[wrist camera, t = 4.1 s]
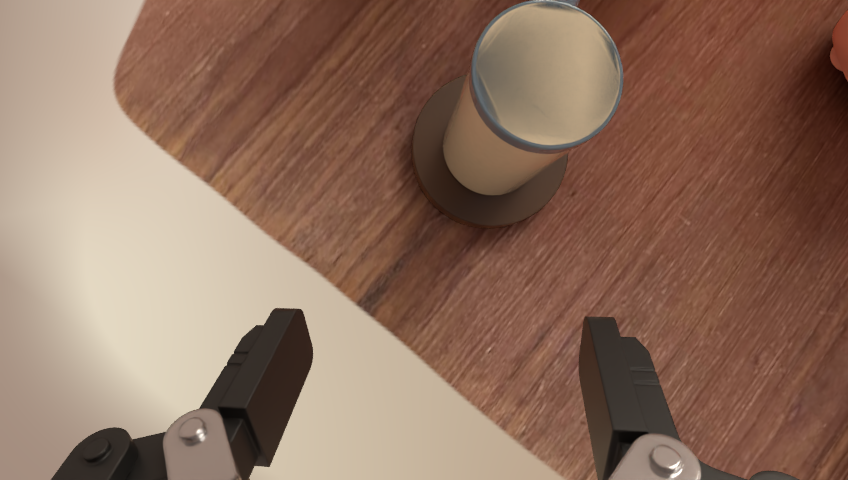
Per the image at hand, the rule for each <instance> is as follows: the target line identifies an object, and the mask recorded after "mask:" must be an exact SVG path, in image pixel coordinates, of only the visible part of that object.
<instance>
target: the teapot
mask: <svg viewBox="0 0 848 480" xmlns="http://www.w3.org/2000/svg"><path fill="white" fill-rule="evenodd" d="M832 39H833V46H834V47H833V48H832V49H831V52H830V59H831V62H832V64H833V65H834V66H835V67H836V68H837V69H838V70H840V71H843V73H844V75H845V77H846V79H847V81H848V10H847V11H846V12H845V13H844V15H843V16H842V17H841V18H840V20H839V21H838V23H837V24H836V26H835V27H834V30H833V36H832Z"/></svg>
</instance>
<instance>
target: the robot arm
mask: <svg viewBox="0 0 848 480" xmlns="http://www.w3.org/2000/svg"><path fill="white" fill-rule="evenodd" d="M312 359H313V347H312V343H311V340H310V336H309V332H308V328H307V325H306V321H305V317H304V314H303V311H302V310H301V309H284V308H275V309H274V310H273V311H272V312H271V314H270V316H269V318H268V319H267V321H266V323H265V324H264V325H256V326H255V327H254V328H253V329H252V330H251V331H249V332H248V333H247V334H246V335H245V336H244V337H243V338H242V339H241V341H240V342H239V344H238V346H237V347H236V349H235V351H234V354H232V356H231V357H230V359H229V360H228V362H227V366H225V367H224V369H223V370H222V372H221V374H220V376H219V377H218V379H217V380H216V382H215V384H214V385H213V387H212V388H211V390H210V392H209V393H208V395H207V397H206V398H205V400H204V402H203V403H202V405H201V407H200V408H199V409H197V410H193V411H191V412H188V413H186V414H184V415H183V416H181V417H180V418H178V419H177V420H176V421H175V422H174V423H173V424H172V425H171V426H170V427H169V428H168V430H167V432H163V433H159V434H155V435H151V436H146V437H142V438H137V439H133V440H132V439H131V437H130V435H129V434H128V432H127V431H126V430H124V429H121V428H107V429H103V430H100V431H98V432H96V433H94V434H92V435H90V436H88V437H87V438H86V439H84V440H83V441H82V442H80V443H79V444H78V445H77V446H76V447H75V448H74V449H73V451H72V452H71V453H70V455H69V456H68V457H67V459H66V460H65V461H64V463H63V464H62V466H61V467H60V468H59V470H58V471H57V472H56V474H55V475H54V476H53V478H52V479H51V480H250V479H249V477H250V475H251V473H252V470H253V468H254V466H264V467H270V464H271V462H272V460H273V457H274V455H275V452H276V450H277V448H278V445H279V442H280V440H281V438H282V436H283V433H284V431H285V428H286V426H287V423H288V421H289V419H290V416H291V414H292V411H293V409H294V407H295V404H296V402H297V399H298V397H299V394H300V392H301V389H302V387H303V385H304V382H305V380H306V377H307V375H308V373H309V370H310V368H311V365H312ZM579 377H580V384H581V389H582V395H583V400H584V406H585V411H586V417H587V422H588V428H589V433H590V439H591V445H592V450H593V456H594V461H595V467H596V472H597V478H598V480H747V479H744V478H741V477H738V476H735V475H732V474H729V473H726V472H723V471H720V470H717V469H715V468H712V467H710V466H708V465H706V464H705V463H703V462H701V461H700V460H698V459H697V457H696V456H695V455H694V453H693V452H692V451H691V450H690V449H689V448H688V447H687V446H686V445H685V444H683V443H682V442H681V440H680V438H679V436H678V433H677V431H676V428H675V425H674V422H673V419H672V416H671V413H670V411H669V408H668V405H667V402H666V399H665V396H664V394H663V391H662V388H661V385H659V379H658V376H657V374H656V372H655V368H654V365H653V362H652V359H651V357H650V354H649V352H648V350H647V349H646V348H645V347H644V346H643V345H642V344H641V343H640V342H639V341H638V340H637V338H636V337H620V334H619V330H618V327H617V323H616V320H615V318H614V317H585V318H584V322H583V330H582V338H581V345H580V353H579ZM750 480H799V479H797V478H795V477H793V476H791V475H788V474H785V473H782V472H777V471H762V472H759V473H756V474H755V475H753V476H752V477H751V478H750Z"/></svg>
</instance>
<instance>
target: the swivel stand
mask: <svg viewBox="0 0 848 480" xmlns="http://www.w3.org/2000/svg"><path fill="white" fill-rule="evenodd" d="M466 76H467V75H464V76H461V77H458V78H456V79H454V80H452V81H450V82H448V83H447V84H445V85H444V86H442V87H441V88H440V89H439V90H438V91H436V92H435V93H434V94H433V95H432V97H431V98H430V99H429V100H428V101H427V103H426V104H425V106H424V107H423V109H422V111H421V113H420V115H419V117H418V119H417V122H416V125H415V129H414V134H413V139H412V149H411V156H412V165H413V170H414V174H415V176H416V179H417V182H418V184H419V186H420V188H421V190H422V191H423V193H424V194H425V196H426V197H427V199H428V200H429V201H430V202H431V203H432V204H433V205H434V207H436V208H437V209H438V210H439V211H440V212H441V213H443V214H444V215H446V216H447V217H449V218H450V219H452V220H454V221H457V222H459V223H461V224H464V225H467V226H471V227H476V228H487V229H491V228H501V227H505V226H510V225H512V224H515V223H518V222H520V221H522V220H524V219H526V218H528V217H530V216H532V215H533V214H535V213H536V212H538V211H539V210H541V209H542V208H543V207H544V206H545V205H546V204H547V203H548V202H549V201H550V200H551V198H552V197H553V196H554V195H555V193H556V191H557V190H558V188H559V186H560V184H561V182H562V180H563V177H564V174H565V171H566V166H567V160H568V153H567V154H565V155H564V156H562V157H561V158H560V159H558V160H557V161H556V162H554V163H553V164H551V165H550V166H549V167H547V168H546V169H545V170H543V171H542V172H540V173H539V174H538V175H536V176H535V177H533V178H532V179H531V180H529V181H528V182H527V183H525V184H524V185H522V186H521V187H520V188H518V189H516V190H514V191H512V192H510V193H507V194H502V195H484V194H480V193H477V192H474V191H472V190H470V189H468V188H466V187H465V186H463V185H462V184H461V183H460V182H459V181H458V180H457V179H456V178H455V177H454V176H453V174H452V173H451V171H450V170H449V168H448V166H447V163H446V161H445V157H444V152H443V139H444V134H445V131H446V128H447V125H448V122H449V120H450V117H451V115H452V112H453V109H454V107H455V104H456V102H457V99H458V96H459V94H460V91H461V89H462V86H463V83H464V81H465V78H466Z"/></svg>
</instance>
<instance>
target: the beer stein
mask: <svg viewBox="0 0 848 480" xmlns="http://www.w3.org/2000/svg"><path fill="white" fill-rule="evenodd" d="M579 2H580V0H532V1H526V2H523V3H520V4H517V5H514V6H512V7H510V8H508V9H506V10H505V11H503V12H501V13H500V14H499V15H497V16H496V17H495V18H494V19H493V20H492V21H491V22H490V23H489V24H488V25H487V26H486V27H485V29H484V30H483V32H482V33H481V35H480V37H479V39H478V41H477V43H476V46H475V48H474V51H473V54H472V57H471V60H470V66H469V70H468V73H467V76H466V78H465V81H464V83H463V86H462V89H461V91H460V94H459V96H458V99H457V102H456V104H455V107H454V109H453V112H452V115H451V117H450V120H449V122H448V125H447V128H446V131H445V134H444V139H443V152H444V157H445V161H446V163H447V166H448V168H449V170H450V171H451V173H452V174H453V176H454V177H455V178H456V179H457V180H458V181H459V182H460V183H461V184H462V185H463V186H465V187H466V188H468V189H470V190H472V191H474V192H477V193H480V194H484V195H502V194H507V193H510V192H512V191H514V190H516V189H518V188H520V187H521V186H522V185H524V184H525V183H527V182H528V181H529V180H531V179H532V178H533V177H535V176H536V175H538V174H539V173H540V172H542V171H543V170H545V169H546V168H547V167H549V166H550V165H551V164H553V163H554V162H556V161H557V160H558V159H560V158H561V157H562V156H564V155H565V154H567V153H568V152H569V151H571V150H572V149H574V148H576V147H578V146H580V145H582V144H584V143H585V142H587V141H588V140H590V139H591V138H593V137H594V136H595V135H597V134H598V133H599V132H600V131H601V130H602V129H603V128H604V127H605V126H606V125H607V124H608V122H609V121H610V120H611V118H612V117H613V115H614V113H615V112H616V109H617V107H618V105H619V102H620V98H621V95H622V88H623V69H622V63H621V59H620V55H619V52H618V50H617V47H616V45H615V43H614V42H613V40H612V38H611V36H610V35H609V34H608V32H607V31H606V29H605V28H604V27H603V26H602V25H601V24H600V23H599V22H598V21H597V20H596V19H595V18H593V17H592V16H591V15H589V14H588V13H586V12H585V11H583V10H581V9H579V8H577V7H578V5H579Z"/></svg>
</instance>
